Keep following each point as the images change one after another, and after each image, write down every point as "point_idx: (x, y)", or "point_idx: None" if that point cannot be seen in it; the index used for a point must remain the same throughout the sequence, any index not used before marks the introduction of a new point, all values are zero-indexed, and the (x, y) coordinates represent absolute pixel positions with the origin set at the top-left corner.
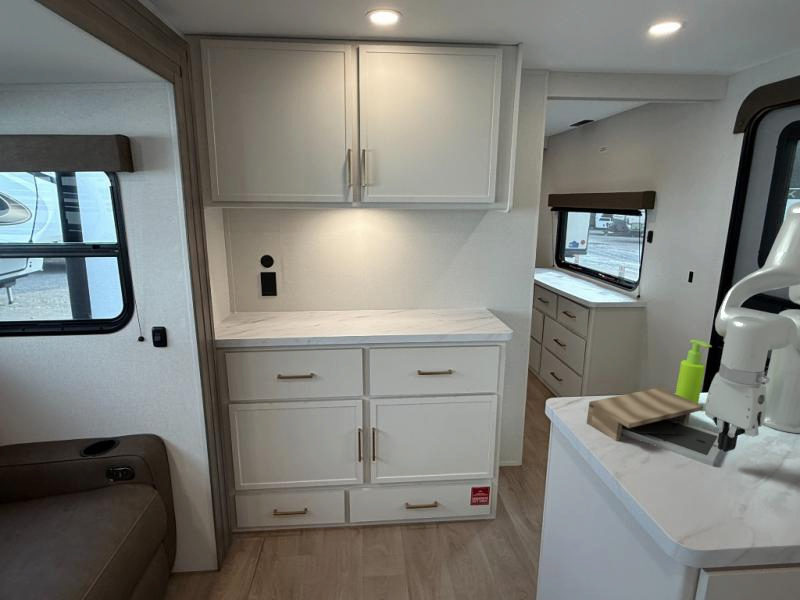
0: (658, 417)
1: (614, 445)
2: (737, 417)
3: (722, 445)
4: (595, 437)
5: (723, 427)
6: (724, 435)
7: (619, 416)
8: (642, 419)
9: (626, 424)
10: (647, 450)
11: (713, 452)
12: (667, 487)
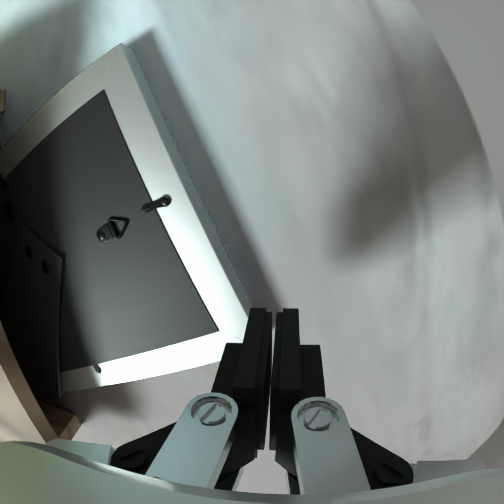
0: (16, 388)
1: (102, 442)
2: None
3: (269, 389)
4: None
5: (236, 485)
6: (264, 444)
7: None
8: None
9: None
10: (127, 412)
11: (209, 279)
12: (284, 488)
